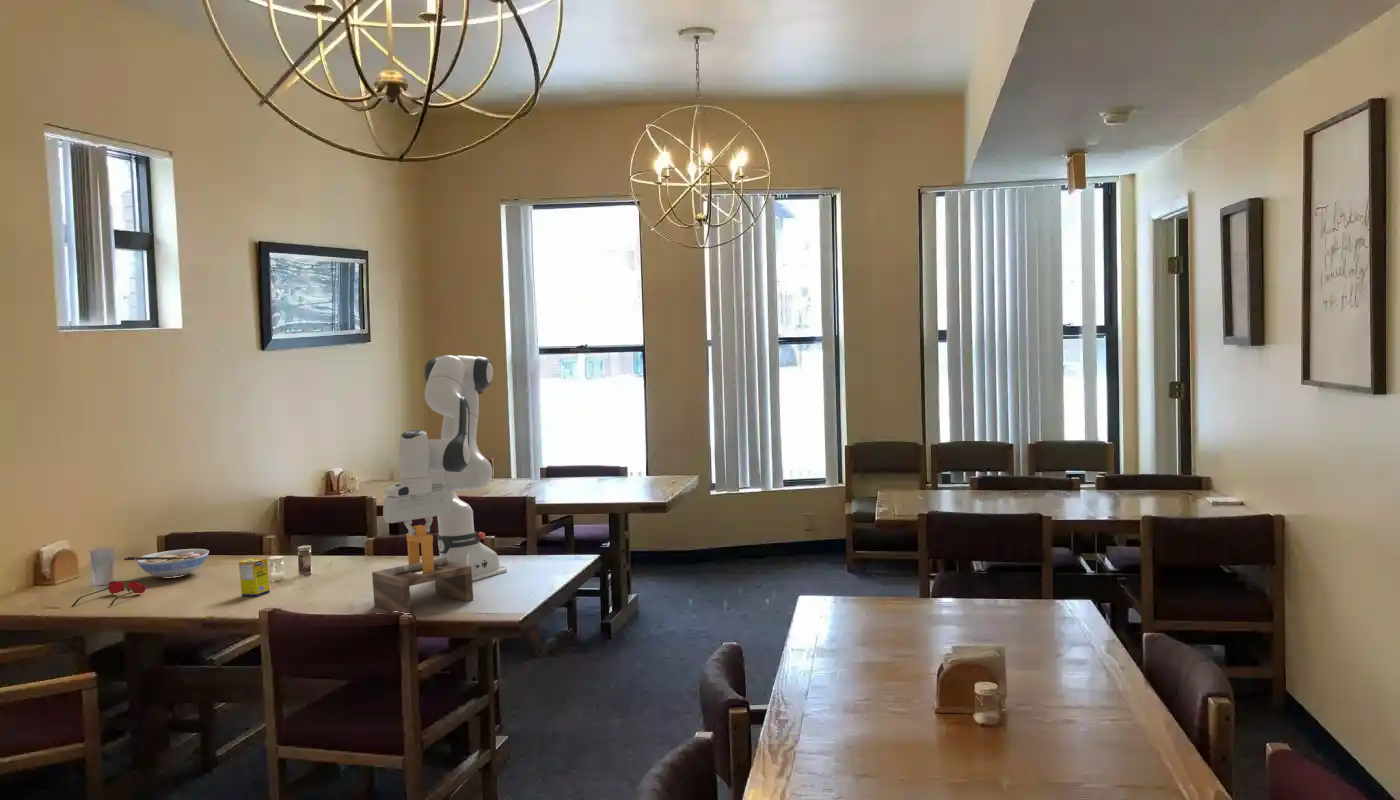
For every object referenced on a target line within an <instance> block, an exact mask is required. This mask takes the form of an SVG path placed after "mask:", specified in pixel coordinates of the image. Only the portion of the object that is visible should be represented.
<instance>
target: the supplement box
mask: <svg viewBox="0 0 1400 800" xmlns="http://www.w3.org/2000/svg"><path fill="white" fill-rule="evenodd" d="M238 568H239V578H240V579H239V580H240V592H241V593H240V594H241V596H242V595H244V596H243V597H255V596H257V597H259V595H260V596H263V595H265V594H270V591H271V589H270V579H269V578H270V577H269V566H268V558H263V557H262V558H259V557H251V558H247V559H244V560H240V561H239V562H238Z"/></svg>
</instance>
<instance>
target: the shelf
mask: <svg viewBox="0 0 1400 800" xmlns="http://www.w3.org/2000/svg"><path fill="white" fill-rule="evenodd" d="M433 560H434V571H433V572H429V573H424V574H423V573H420V574H419V572H423V569H422V561H420V563H415V564H410V565H409V564H405V565H400V566H396V567H392V568H387V569H386V568H385V569H382V570H376V571H372V572H371V574H372V575H371V577H372V587H373V588H372V589H373V603H374V605H373V606H374V607H375V608H378V609H383V610H386V611H389V612H391V611H398V612H404V613H411V614H412V605H411V593H410V592H411V589H410V588H411V587H412V586H416V585H417V586H418V585H421V584H426V583H430V582H434V584H435V586H434V588H435V589H434V590H435V593H436V594H440V595H443V594H444V595H443V596H446V595H447V597H450V596H451V598H454V599H457V598H458V600H461V599H462V601H466V602H470V601H469V600H471V601H474V591H473V581H472V571H471V566H469V565H464V564H460V563H456V562H451V561H448V560H447V558H446V557H445V558H440V559H439V558H436V559H433Z"/></svg>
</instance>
